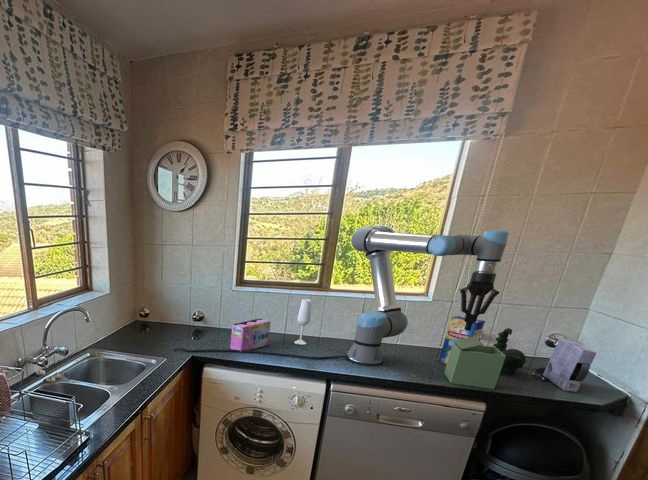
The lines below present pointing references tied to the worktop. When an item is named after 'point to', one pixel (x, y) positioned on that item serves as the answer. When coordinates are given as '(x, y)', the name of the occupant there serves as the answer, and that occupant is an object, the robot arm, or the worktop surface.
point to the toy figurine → (509, 353)
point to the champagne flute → (304, 317)
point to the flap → (468, 343)
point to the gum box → (250, 334)
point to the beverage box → (459, 334)
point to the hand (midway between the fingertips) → (467, 329)
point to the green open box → (474, 366)
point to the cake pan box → (569, 365)
